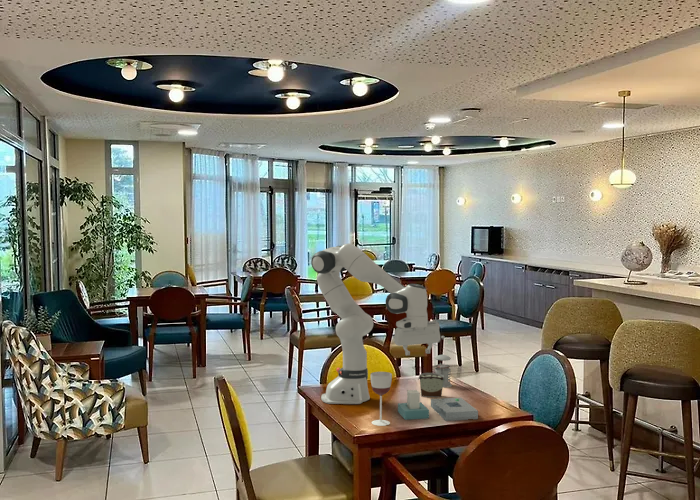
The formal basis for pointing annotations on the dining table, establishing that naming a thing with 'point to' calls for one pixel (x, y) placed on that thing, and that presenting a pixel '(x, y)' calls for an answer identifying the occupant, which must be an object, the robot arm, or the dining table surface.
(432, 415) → the dining table surface
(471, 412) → the box
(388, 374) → the wineglass
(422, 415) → the teal socket base
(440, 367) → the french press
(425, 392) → the food container
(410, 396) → the plug
